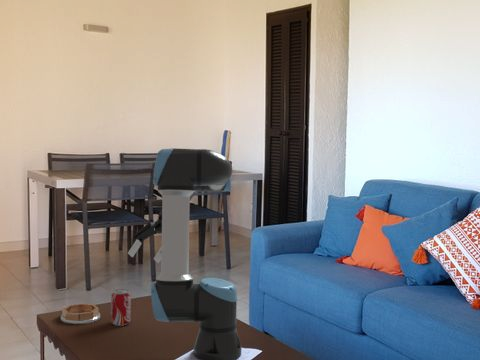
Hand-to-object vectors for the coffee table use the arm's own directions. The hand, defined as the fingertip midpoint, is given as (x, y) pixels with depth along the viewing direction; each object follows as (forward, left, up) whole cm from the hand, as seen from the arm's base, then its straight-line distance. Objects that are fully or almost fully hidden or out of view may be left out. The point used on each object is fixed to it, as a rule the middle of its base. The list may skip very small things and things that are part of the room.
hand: (142, 258), depth 222 cm
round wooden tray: (+9, +21, -22) cm, 31 cm away
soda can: (-4, +10, -22) cm, 25 cm away
